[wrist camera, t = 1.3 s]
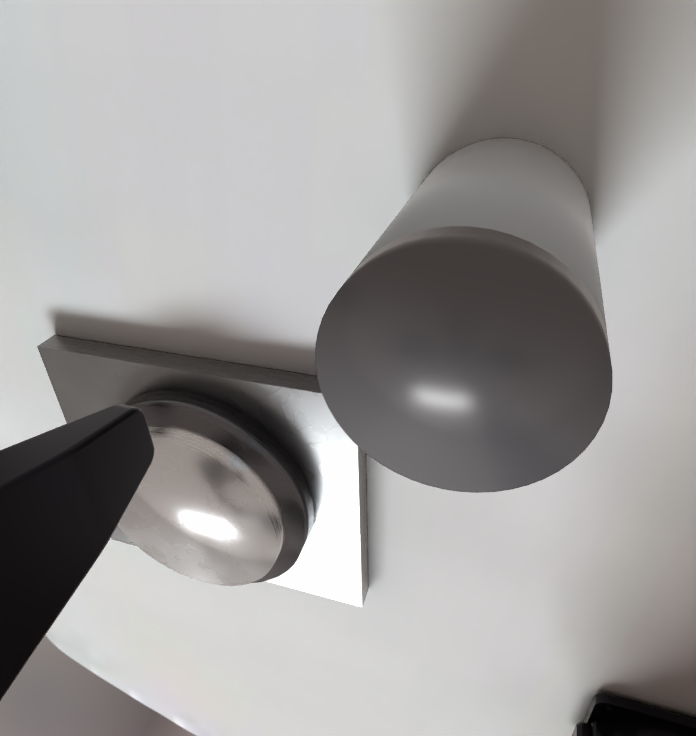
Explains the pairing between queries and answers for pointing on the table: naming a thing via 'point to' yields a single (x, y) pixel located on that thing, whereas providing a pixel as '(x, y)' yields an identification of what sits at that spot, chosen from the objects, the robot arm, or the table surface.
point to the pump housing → (475, 326)
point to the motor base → (272, 408)
